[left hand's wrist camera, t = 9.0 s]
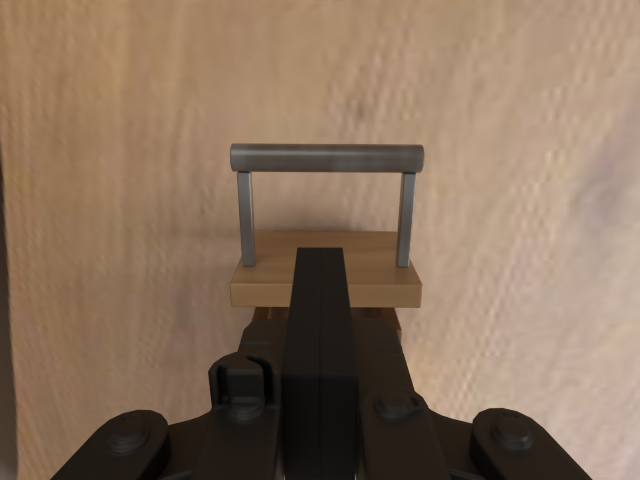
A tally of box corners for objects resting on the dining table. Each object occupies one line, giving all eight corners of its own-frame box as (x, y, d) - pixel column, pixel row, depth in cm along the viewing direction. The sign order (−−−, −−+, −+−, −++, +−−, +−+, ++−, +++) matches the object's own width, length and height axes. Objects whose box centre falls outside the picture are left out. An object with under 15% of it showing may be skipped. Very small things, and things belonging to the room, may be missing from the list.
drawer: (247, 130, 24) (219, 151, 18) (403, 131, 25) (436, 152, 18) (262, 433, 32) (247, 528, 25) (382, 433, 32) (398, 529, 25)
